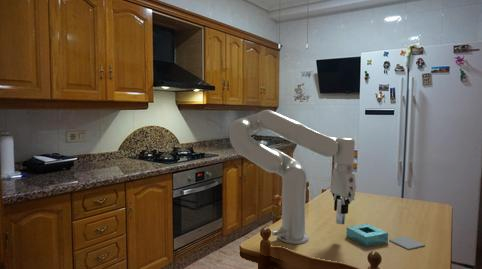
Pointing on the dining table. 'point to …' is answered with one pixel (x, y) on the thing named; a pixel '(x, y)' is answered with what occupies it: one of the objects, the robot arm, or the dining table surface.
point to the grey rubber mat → (407, 242)
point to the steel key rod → (339, 212)
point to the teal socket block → (367, 235)
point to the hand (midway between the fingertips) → (340, 211)
